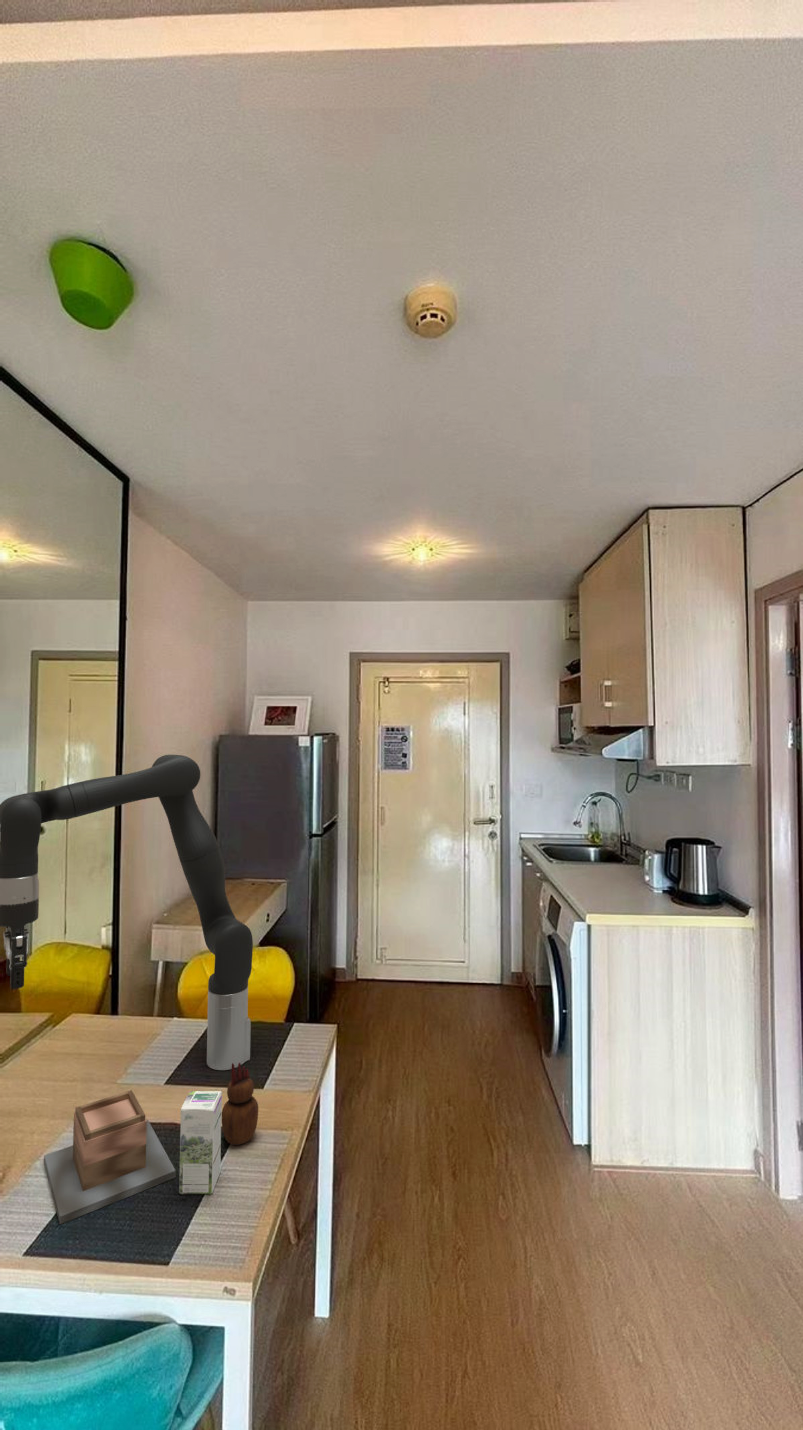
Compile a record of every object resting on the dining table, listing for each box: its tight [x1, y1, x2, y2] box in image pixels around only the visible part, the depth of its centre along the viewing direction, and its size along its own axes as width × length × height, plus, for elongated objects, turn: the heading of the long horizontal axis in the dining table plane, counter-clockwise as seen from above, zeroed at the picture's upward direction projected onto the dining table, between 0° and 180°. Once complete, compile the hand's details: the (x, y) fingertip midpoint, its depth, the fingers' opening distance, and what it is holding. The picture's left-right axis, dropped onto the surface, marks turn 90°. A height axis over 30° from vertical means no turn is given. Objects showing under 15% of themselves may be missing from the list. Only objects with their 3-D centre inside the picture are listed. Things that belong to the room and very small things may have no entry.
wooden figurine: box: [221, 1063, 259, 1146], centre depth 120 cm, size 7×6×15 cm
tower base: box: [43, 1089, 177, 1225], centre depth 112 cm, size 18×18×10 cm
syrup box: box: [178, 1090, 223, 1195], centre depth 108 cm, size 6×6×14 cm
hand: (15, 981), depth 123 cm, fingers open, 8 cm apart
